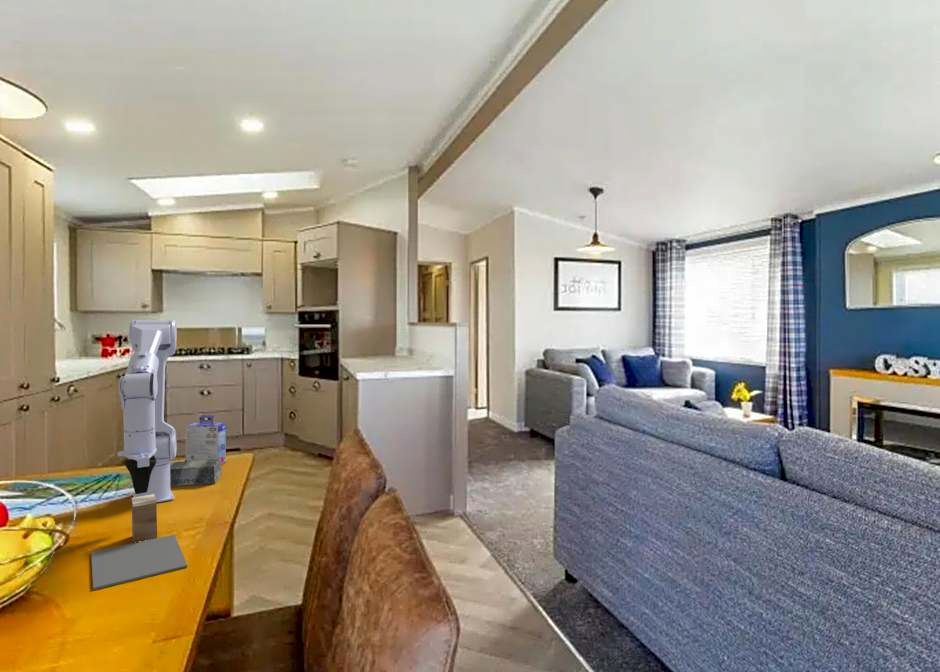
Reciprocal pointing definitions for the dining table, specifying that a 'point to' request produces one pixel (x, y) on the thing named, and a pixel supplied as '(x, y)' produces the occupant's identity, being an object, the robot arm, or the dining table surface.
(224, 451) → the ink cartridge box
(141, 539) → the walnut block
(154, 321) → the robot arm
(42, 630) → the dining table surface
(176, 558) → the mat
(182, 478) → the stone block
